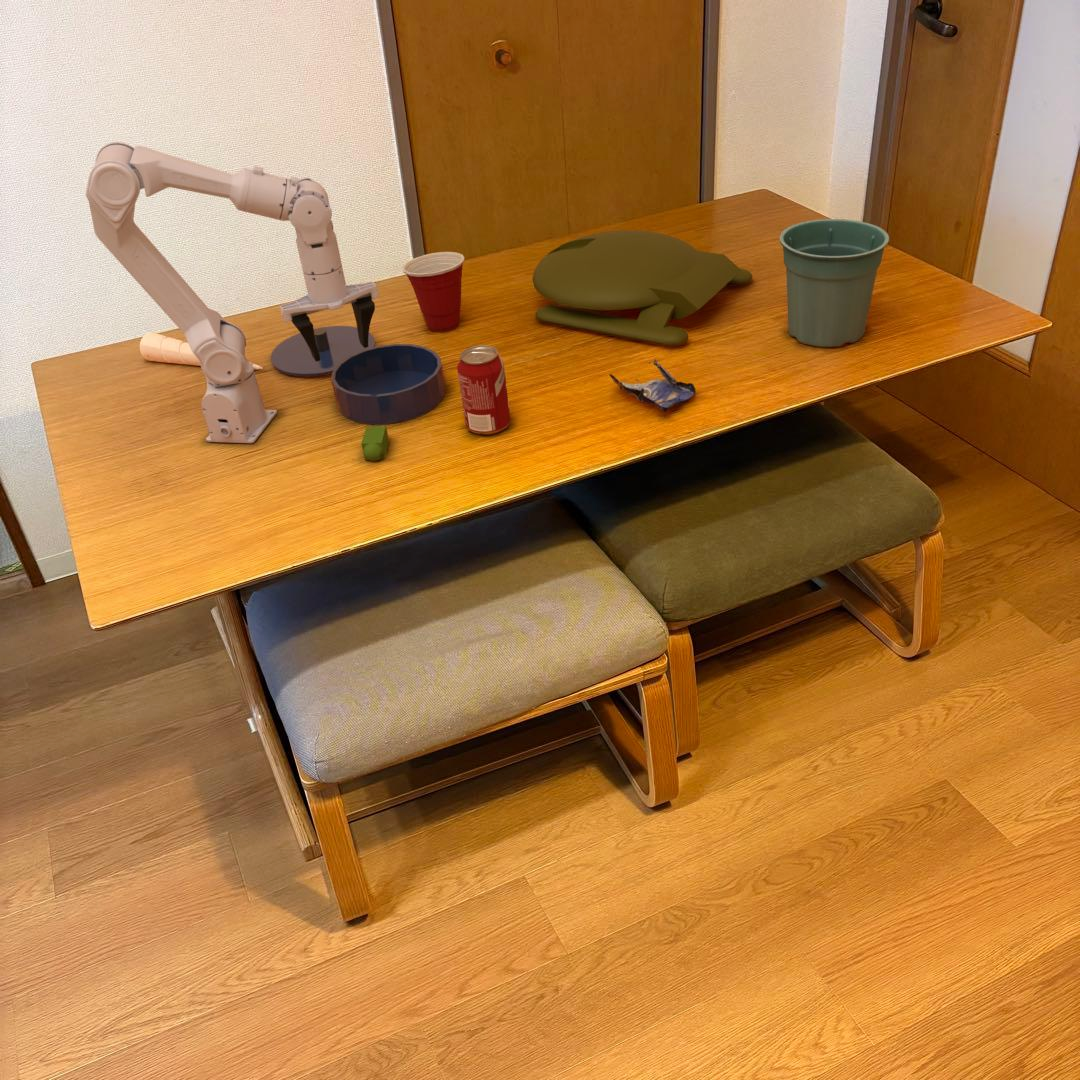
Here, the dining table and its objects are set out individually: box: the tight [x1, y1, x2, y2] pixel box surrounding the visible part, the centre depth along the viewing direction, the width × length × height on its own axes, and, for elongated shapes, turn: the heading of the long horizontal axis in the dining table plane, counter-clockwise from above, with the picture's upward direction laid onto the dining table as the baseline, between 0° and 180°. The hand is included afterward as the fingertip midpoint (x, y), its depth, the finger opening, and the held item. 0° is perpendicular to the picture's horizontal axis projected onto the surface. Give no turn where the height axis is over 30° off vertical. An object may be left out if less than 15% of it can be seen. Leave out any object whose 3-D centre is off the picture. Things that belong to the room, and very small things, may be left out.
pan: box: [330, 343, 446, 426], centre depth 172 cm, size 17×17×5 cm
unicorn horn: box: [139, 331, 264, 370], centre depth 187 cm, size 5×24×5 cm, turn 65°
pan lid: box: [270, 325, 376, 377], centre depth 186 cm, size 18×18×4 cm
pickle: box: [360, 425, 390, 462], centre depth 159 cm, size 7×3×3 cm, turn 179°
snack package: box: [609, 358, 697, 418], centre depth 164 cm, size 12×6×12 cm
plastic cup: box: [402, 251, 465, 333], centre depth 190 cm, size 11×11×12 cm
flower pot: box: [779, 218, 890, 348], centre depth 173 cm, size 16×16×16 cm
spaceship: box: [532, 229, 753, 348], centre depth 192 cm, size 35×31×10 cm
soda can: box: [456, 344, 512, 436], centre depth 159 cm, size 7×7×12 cm
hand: (340, 351), depth 166 cm, fingers open, 7 cm apart
